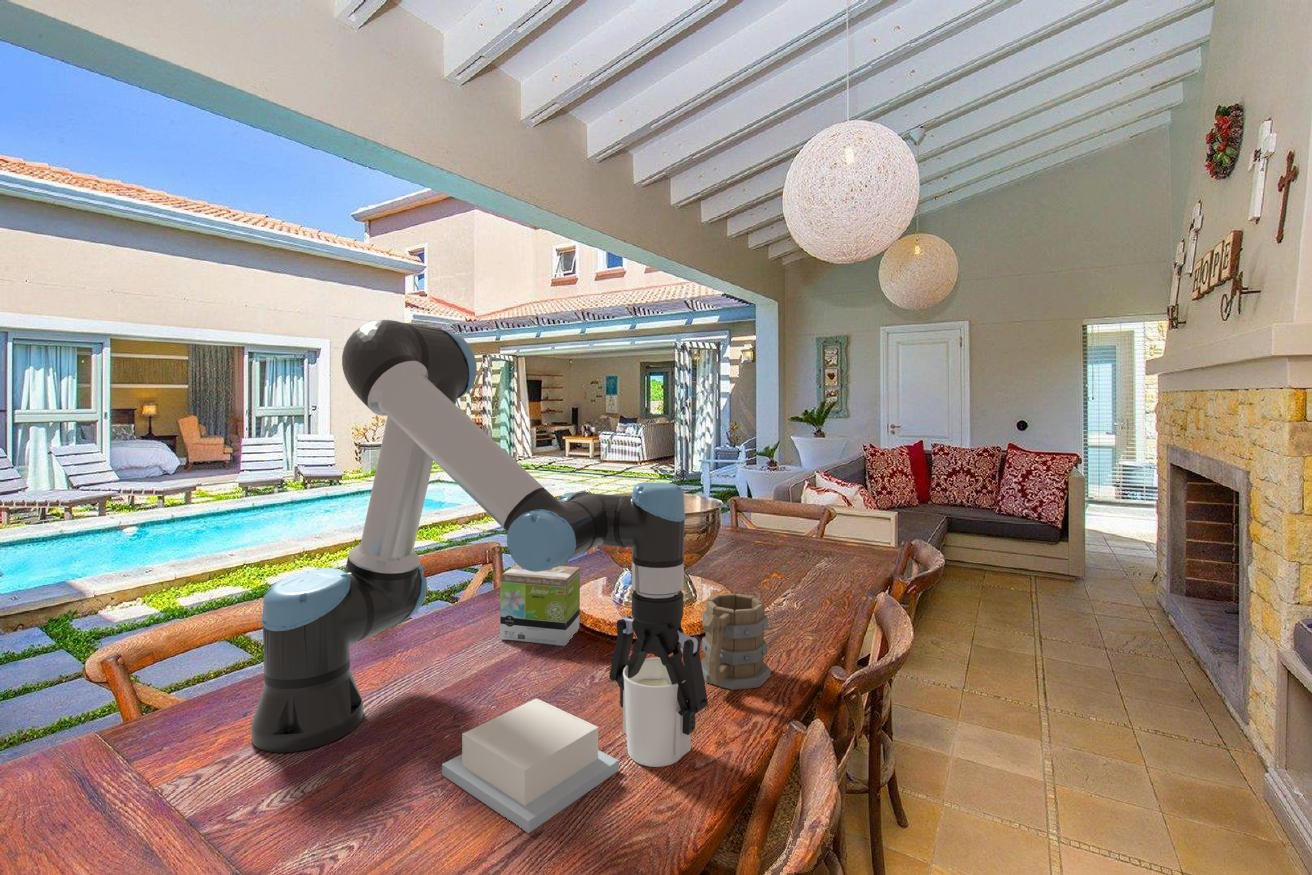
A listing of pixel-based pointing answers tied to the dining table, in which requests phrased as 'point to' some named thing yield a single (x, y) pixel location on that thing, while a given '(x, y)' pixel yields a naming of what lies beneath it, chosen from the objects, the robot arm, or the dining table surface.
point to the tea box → (540, 605)
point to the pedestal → (530, 763)
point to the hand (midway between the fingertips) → (655, 740)
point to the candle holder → (651, 714)
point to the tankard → (734, 642)
